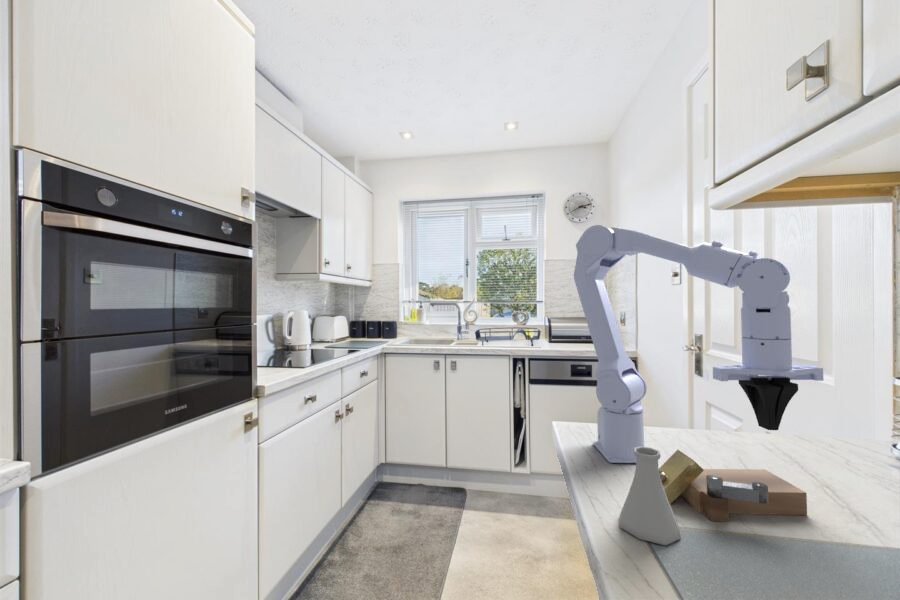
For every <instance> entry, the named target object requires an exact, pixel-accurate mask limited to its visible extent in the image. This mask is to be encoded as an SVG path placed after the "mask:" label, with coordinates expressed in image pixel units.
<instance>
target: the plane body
mask: <svg viewBox="0 0 900 600" xmlns="http://www.w3.org/2000/svg"><path fill="white" fill-rule="evenodd" d="M702 469H703V470H704V471H703V472H702V473H701V474H700V475H699V476H698V477H697V478H696V479H695V480H694V481H693V482H692V483H691V484H690V485H689V486H688V487H687V488H686V489H685V490H684V491H683V492H682V493H681V494H680V495H679V496H680V497H682V498H683V499H684V500H685V501H686V502H687V503H688V504H689V505H690V506H692V508H694V510H696V511H697V512H698V513H699V514H703V515H704V516H705V517H706V518H707V519H709V520H710V521H711V522H729V521H730V520H729V519H730V517H729V515H735V514H736V515H778V516H779V515H780V516H781V515H782V516H783V515H786V516H787V515H790V516H791V515H792V516H794V515H795V516H798V515H799V516H802V515H803V516H808V503H807V502H808V499H807V498H808V497H807V492H806V491H804V490H802V489H800V488H799V487H797V486H795V485H793V484H792V483H790V482H788V481H787V480H785V479H783V478H781V477H779V476H777V475H776V474H774V473H772V472H771V471H768V470H767V469H759V468H758V469H757V468H756V469H752V468H751V469H749V468H747V469H745V468H744V469H741V468H740V469H739V468H736V469H735V468H731V469H730V468H702ZM707 475H715V476H719V477H721V478H722V479H723V481H725V482H733V483H741V484H749V485H752V482H759V483H763V484H765V485H767V486H768V501H769V504H763V503H758V502H751V501H744V500H736V499H729V498H717V497H713V496H710V495H709V494H707V481H706V476H707Z"/></svg>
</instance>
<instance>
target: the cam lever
mask: <svg viewBox="0 0 900 600" xmlns="http://www.w3.org/2000/svg"><path fill="white" fill-rule="evenodd" d="M706 481H707V494H709V495H710V496H713V497H717V498H729V499H736V500H744V501H751V502H758V503H763V504H769V501H768V486H767V485H765V484H763V483H759V482H752V485H749V484H741V483H733V482H725V481H723V479H722V478H721V477H719V476H715V475H707V476H706Z"/></svg>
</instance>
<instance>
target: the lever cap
mask: <svg viewBox="0 0 900 600" xmlns="http://www.w3.org/2000/svg"><path fill="white" fill-rule="evenodd" d="M658 469H659V474H660V479H661V482H662V485H663V488H664V490H665V493H666V496H667V499H668V501H669V504H670V505H671V504H672V503H673V502H674V501H676V499H677V498H678V497H680V496H681V495H680V494H681V493H682V492H683V491H684V490H685V489H686V488H687V487H688V486H689V485H690V484H691V483H692V482H693V481H694V480H695V479H696V478H697V477H698V476H699V475H700V474H701V473H702V472H703V471H704V470H703V469H704V468H702V466H700V465H699V464H698V463H697V462H696V461H695V460H694V459H692V458H691V457H689V456H688V455H686V454H685V453H684V452H682V451H681V450H680V449H677V450H676V451H674V452H673V454H671V456H670V457H668V458H667V460H666V461H665V462H664V463H663V464H662V465H661V466H660V467H658Z"/></svg>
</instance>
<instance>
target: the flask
mask: <svg viewBox="0 0 900 600" xmlns="http://www.w3.org/2000/svg"><path fill="white" fill-rule="evenodd" d="M634 455H635V456H636V463H635V464H636V465H635V470H634V474H633V475H634V476H633V479H632V482H631V485H630V488H629V490H628V493H627V495H626V498H625V499H624V500H625V501H624V503H623V506H622V507H621V511H620V513H619V519H618V520H619V521H618V522H619V523H618V527H619V528H621V529H623V531H625V532H627V533H629V534H631V535H632V536H634V537H635V538H637V539H638V540H642V541H647V542H650V543H654V544H658V545H662V546H667V545H669V544H672V543H674V542H676V541H678V540H680V539H682V538H681V532H680V528H679V523H678V522H677V521H678V520H677V519H676V516H675V514H674V511H673V509H672V506H671V504H669V501H668V499H667V496H666V493H665V490H664V488H663V485H662V482H661V479H660V474H659V460H660V459H661V451H660V450H659V449H656V448H653V447H649V446H644V447H643V446H639V447H635V448H634Z"/></svg>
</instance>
